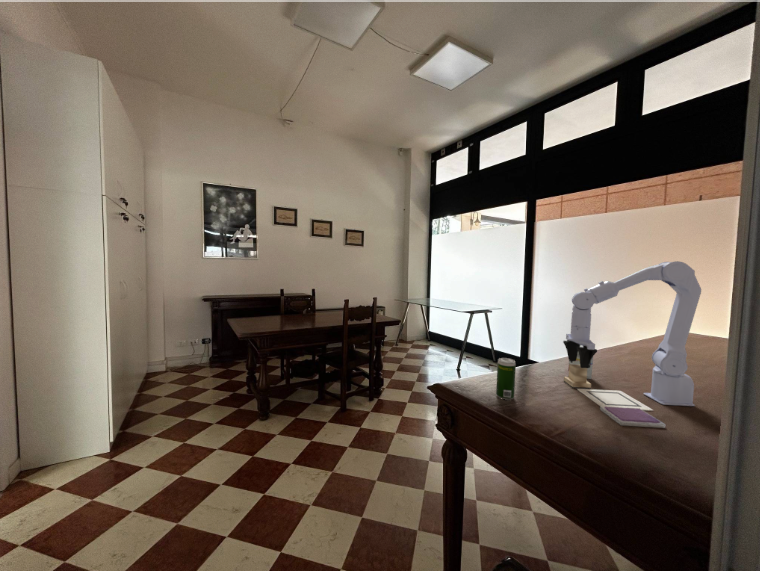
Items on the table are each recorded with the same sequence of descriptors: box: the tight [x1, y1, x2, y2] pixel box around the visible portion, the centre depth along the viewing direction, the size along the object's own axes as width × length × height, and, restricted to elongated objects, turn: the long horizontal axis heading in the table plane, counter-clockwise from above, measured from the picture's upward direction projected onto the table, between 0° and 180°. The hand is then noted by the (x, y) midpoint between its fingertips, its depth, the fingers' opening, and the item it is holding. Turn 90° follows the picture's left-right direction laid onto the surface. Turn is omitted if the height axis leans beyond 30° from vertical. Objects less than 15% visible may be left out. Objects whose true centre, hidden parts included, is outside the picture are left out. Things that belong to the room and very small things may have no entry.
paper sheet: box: [577, 388, 654, 412], centre depth 99 cm, size 14×14×1 cm
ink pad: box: [599, 406, 666, 429], centre depth 86 cm, size 11×9×1 cm
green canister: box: [495, 357, 517, 401], centre depth 99 cm, size 5×5×12 cm
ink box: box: [567, 345, 594, 380], centre depth 120 cm, size 9×5×12 cm, turn 172°
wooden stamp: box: [563, 363, 592, 389], centre depth 110 cm, size 6×6×7 cm
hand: (578, 364), depth 110 cm, fingers open, 7 cm apart
